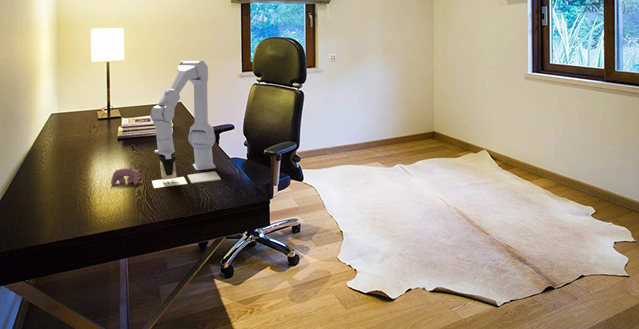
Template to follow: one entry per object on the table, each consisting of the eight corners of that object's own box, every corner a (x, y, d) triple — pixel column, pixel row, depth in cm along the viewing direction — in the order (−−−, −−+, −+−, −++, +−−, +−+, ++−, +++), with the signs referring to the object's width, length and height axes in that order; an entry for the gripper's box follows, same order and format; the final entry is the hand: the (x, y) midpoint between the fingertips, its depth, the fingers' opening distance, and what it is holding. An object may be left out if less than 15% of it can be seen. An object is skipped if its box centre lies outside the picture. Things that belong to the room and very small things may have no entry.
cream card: (151, 181, 193) (151, 180, 193) (183, 177, 197) (183, 176, 197) (154, 188, 184) (154, 187, 184) (187, 184, 188) (187, 183, 188)
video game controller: (140, 186, 192) (140, 168, 193) (136, 184, 187) (137, 166, 189) (114, 187, 192) (114, 169, 193) (109, 185, 187) (110, 167, 188)
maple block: (161, 176, 191) (159, 161, 190) (174, 174, 193) (173, 159, 192) (162, 179, 187) (161, 164, 185) (176, 178, 189) (174, 162, 187)
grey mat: (187, 176, 198) (187, 174, 198) (215, 172, 202) (215, 171, 202) (191, 183, 188) (191, 182, 188) (220, 180, 192) (220, 178, 192)
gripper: (151, 135, 191) (155, 169, 195) (155, 143, 178) (159, 179, 182) (170, 133, 194) (174, 167, 197) (175, 141, 181) (179, 177, 184)
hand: (168, 173), depth 190 cm, fingers closed on maple block, 5 cm apart
